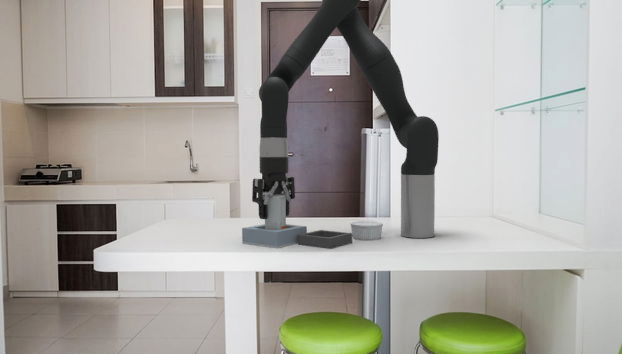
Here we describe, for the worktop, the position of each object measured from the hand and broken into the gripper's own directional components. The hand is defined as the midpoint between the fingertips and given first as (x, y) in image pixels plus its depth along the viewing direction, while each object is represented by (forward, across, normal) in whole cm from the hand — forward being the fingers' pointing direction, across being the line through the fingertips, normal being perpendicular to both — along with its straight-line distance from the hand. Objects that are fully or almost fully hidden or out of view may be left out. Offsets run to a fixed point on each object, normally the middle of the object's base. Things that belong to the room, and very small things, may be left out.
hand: (274, 217), depth 134 cm
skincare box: (+6, 0, 0) cm, 6 cm away
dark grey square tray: (+7, +6, -12) cm, 15 cm away
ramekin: (+7, +20, -16) cm, 27 cm away
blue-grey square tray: (+7, 0, 0) cm, 7 cm away
